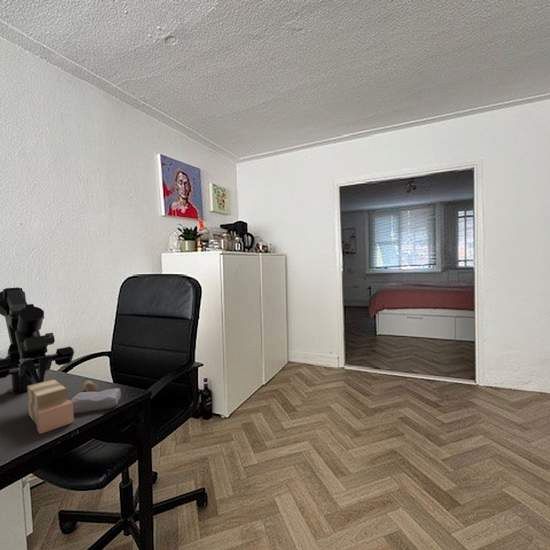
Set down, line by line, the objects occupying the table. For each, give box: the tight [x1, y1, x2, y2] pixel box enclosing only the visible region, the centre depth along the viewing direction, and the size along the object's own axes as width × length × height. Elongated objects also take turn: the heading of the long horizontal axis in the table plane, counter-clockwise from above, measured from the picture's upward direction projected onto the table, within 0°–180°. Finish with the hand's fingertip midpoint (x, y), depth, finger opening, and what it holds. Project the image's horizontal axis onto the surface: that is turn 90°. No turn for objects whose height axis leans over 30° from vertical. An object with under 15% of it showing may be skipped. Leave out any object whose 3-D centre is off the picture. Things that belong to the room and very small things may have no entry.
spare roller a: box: [81, 379, 99, 392], centre depth 98 cm, size 5×3×3 cm
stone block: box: [70, 387, 122, 415], centre depth 88 cm, size 12×5×10 cm
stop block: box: [36, 399, 75, 435], centre depth 76 cm, size 3×7×5 cm, turn 139°
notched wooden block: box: [27, 378, 68, 426], centre depth 81 cm, size 12×6×8 cm, turn 49°
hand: (40, 386), depth 85 cm, fingers closed, pressing on notched wooden block
